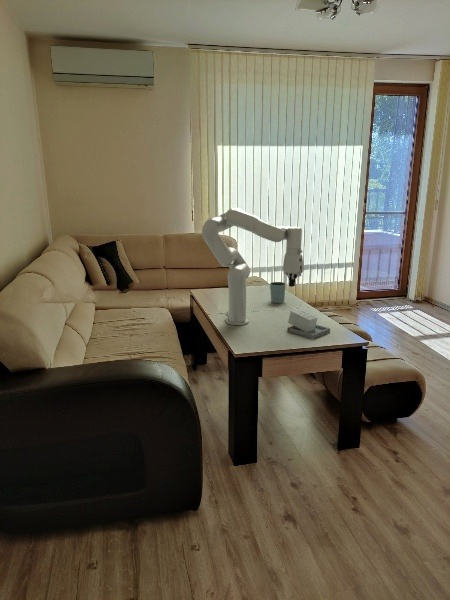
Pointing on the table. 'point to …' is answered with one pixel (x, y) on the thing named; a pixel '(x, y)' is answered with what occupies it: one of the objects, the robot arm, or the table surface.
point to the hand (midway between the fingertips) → (291, 286)
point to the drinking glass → (277, 292)
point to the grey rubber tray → (312, 332)
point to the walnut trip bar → (290, 328)
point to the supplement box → (302, 320)
